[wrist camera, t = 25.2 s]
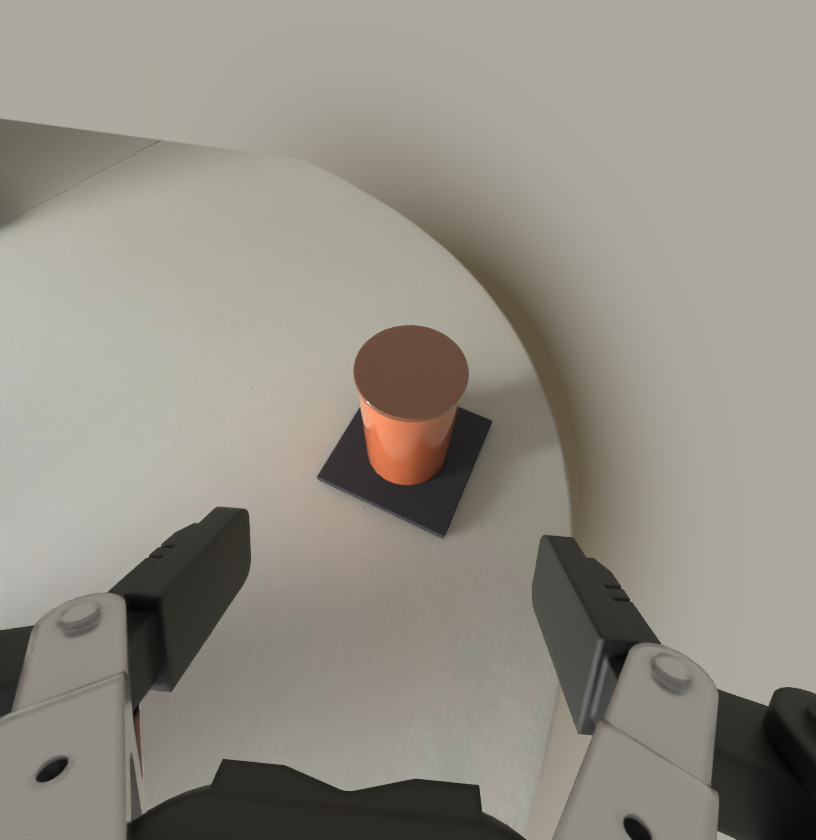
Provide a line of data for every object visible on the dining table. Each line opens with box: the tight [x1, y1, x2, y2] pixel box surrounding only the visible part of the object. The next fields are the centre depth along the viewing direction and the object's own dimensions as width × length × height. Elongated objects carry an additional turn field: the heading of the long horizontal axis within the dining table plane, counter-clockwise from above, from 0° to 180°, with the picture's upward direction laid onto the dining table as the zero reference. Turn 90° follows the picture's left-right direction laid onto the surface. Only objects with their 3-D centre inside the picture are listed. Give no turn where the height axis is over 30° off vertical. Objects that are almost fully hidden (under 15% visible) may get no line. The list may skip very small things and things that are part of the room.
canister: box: [353, 325, 469, 485], centre depth 26 cm, size 6×6×10 cm
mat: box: [317, 408, 492, 538], centre depth 31 cm, size 10×10×1 cm
